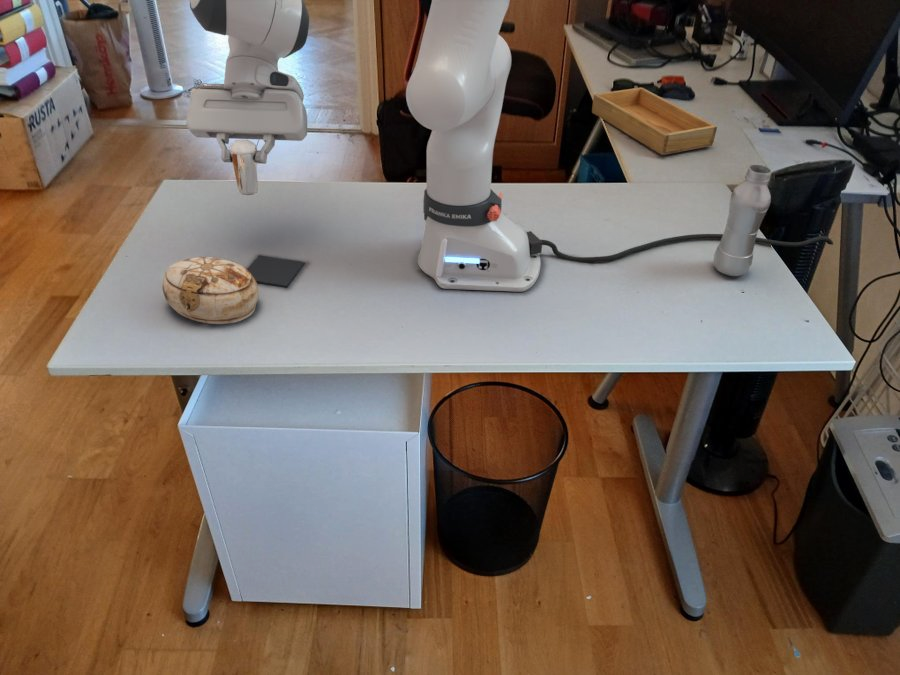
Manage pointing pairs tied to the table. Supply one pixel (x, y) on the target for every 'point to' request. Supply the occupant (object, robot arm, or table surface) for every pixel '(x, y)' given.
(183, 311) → the trinket box
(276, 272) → the mat
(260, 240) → the table surface
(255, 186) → the milkshake
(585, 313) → the table surface
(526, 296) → the table surface
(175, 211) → the table surface
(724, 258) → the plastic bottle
